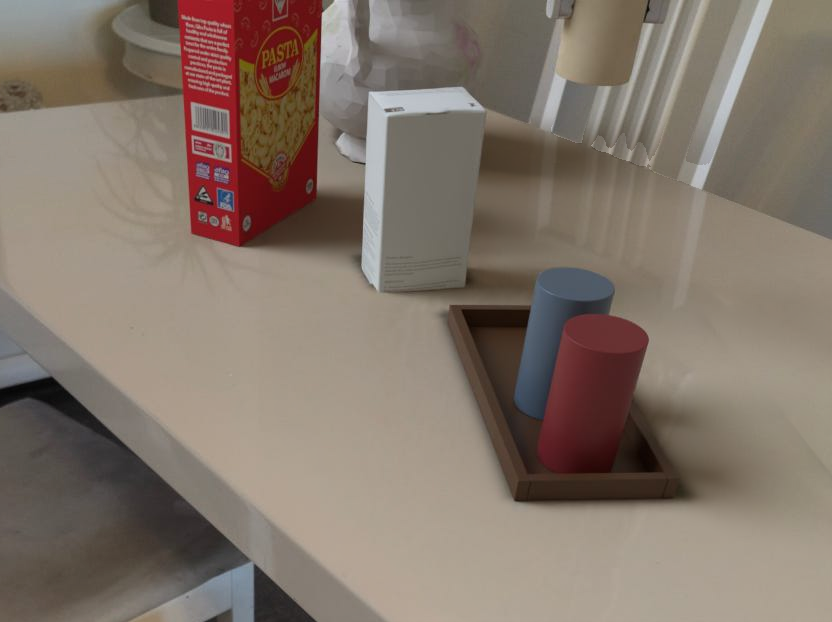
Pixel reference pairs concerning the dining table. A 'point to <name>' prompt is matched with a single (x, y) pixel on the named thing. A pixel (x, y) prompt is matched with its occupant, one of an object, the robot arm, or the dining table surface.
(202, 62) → the food packaging
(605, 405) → the burgundy candle
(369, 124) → the cosmetic box
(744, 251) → the dining table surface
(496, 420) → the tray
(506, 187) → the dining table surface
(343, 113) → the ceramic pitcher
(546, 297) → the slate candle
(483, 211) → the dining table surface
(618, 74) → the candle
